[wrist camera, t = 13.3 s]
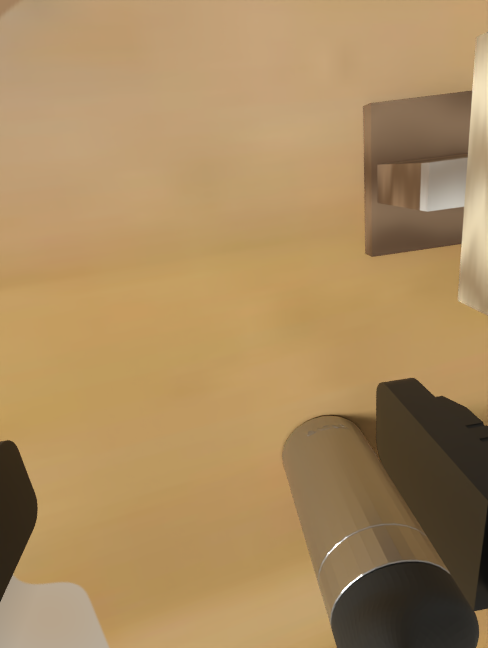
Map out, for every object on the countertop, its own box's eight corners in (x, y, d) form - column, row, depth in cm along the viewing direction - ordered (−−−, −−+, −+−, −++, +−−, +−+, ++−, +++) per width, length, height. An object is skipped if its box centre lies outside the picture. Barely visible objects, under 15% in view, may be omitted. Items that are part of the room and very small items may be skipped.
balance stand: (470, 238, 38) (554, 258, 29) (365, 253, 37) (418, 279, 28) (482, 91, 34) (584, 62, 25) (363, 106, 33) (424, 82, 24)
